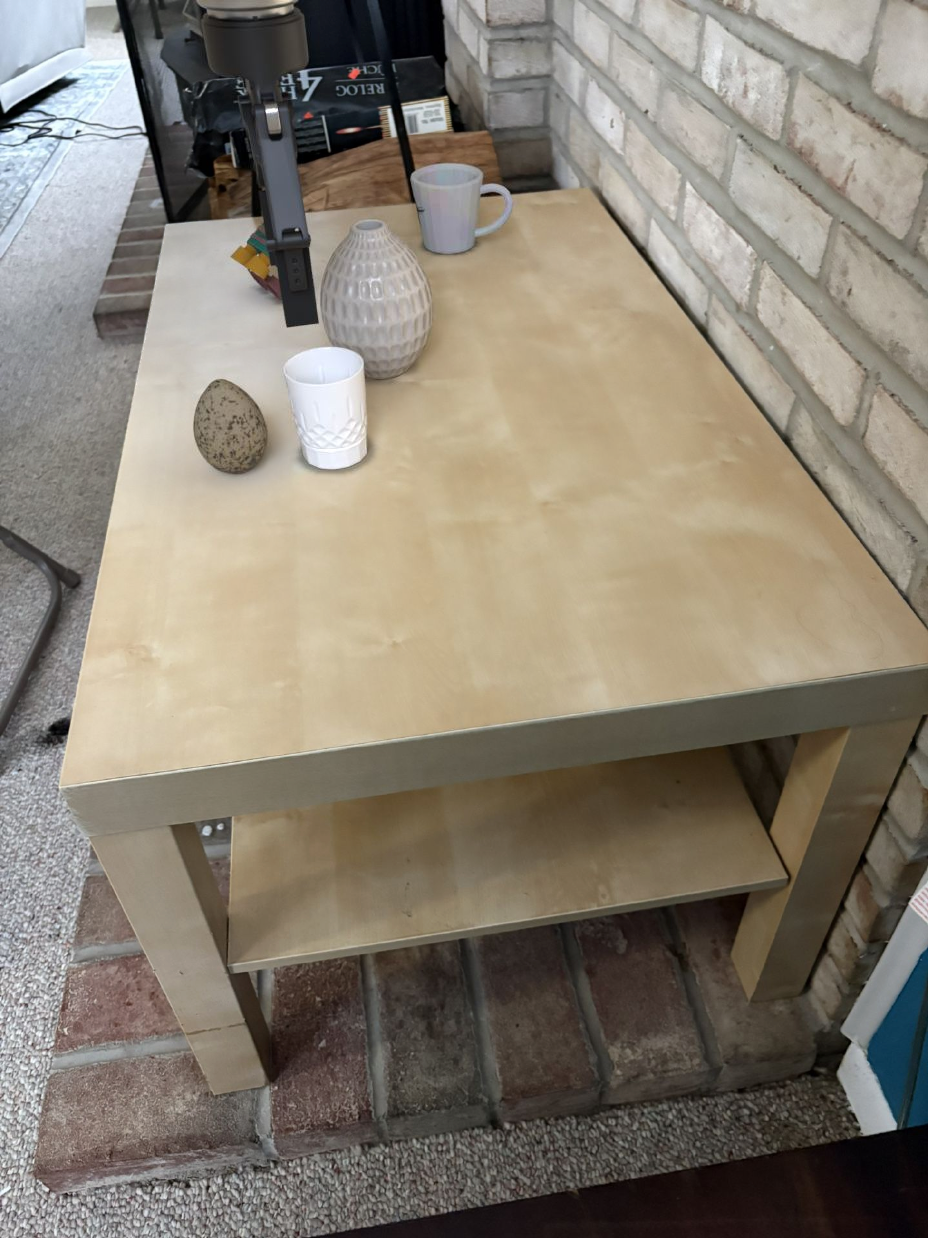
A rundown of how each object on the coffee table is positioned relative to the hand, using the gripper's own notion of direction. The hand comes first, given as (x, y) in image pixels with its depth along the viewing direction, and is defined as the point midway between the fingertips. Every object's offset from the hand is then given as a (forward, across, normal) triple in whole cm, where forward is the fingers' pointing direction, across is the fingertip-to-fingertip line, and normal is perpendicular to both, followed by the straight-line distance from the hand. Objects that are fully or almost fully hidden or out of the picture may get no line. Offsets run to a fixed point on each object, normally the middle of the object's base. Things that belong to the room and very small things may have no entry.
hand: (293, 291), depth 82 cm
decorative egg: (+19, +3, +8) cm, 21 cm away
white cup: (+19, +3, -2) cm, 19 cm away
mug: (+18, +54, -29) cm, 64 cm away
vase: (+19, +20, -10) cm, 29 cm away
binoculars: (+19, +46, 0) cm, 49 cm away
